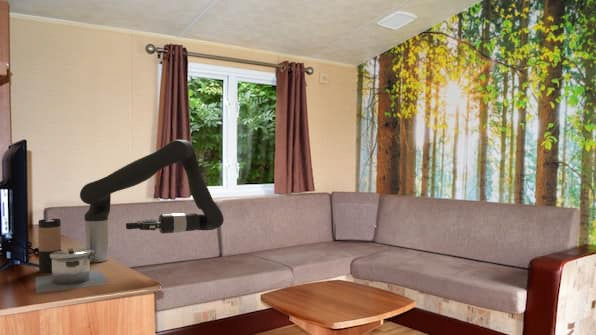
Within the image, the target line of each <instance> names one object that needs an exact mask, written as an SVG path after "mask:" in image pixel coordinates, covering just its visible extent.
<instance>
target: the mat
mask: <svg viewBox="0 0 596 335" xmlns="http://www.w3.org/2000/svg"><path fill="white" fill-rule="evenodd" d="M34 279H35V280H34V281H35V294H38V293H48V292H56V291H65V290H73V289H81V288H89V287H96V286H106V285H107V286H108V285H109V282H108V281H107V278H106V277H105V275H104V274H103V272H102V270H101V269H98V270H90V279H89V280H88V281H86V282H83V283H80V284H74V285H55V284H53V283H52V274H50V275H44V276H36V277H35V278H34Z"/></svg>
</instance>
